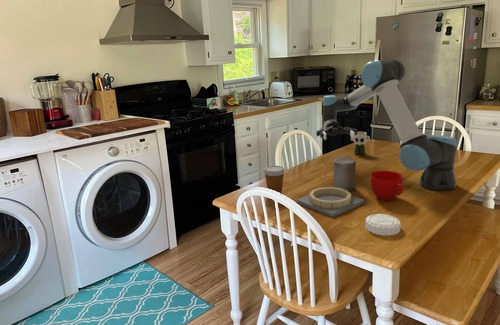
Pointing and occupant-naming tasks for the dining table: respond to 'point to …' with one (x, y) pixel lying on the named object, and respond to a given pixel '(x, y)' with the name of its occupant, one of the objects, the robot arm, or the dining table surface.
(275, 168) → the disposable coffee cup
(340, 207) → the board
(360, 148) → the character mug
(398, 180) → the ceramic cup
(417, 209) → the dining table surface
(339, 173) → the pillar candle
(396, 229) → the mooncake
